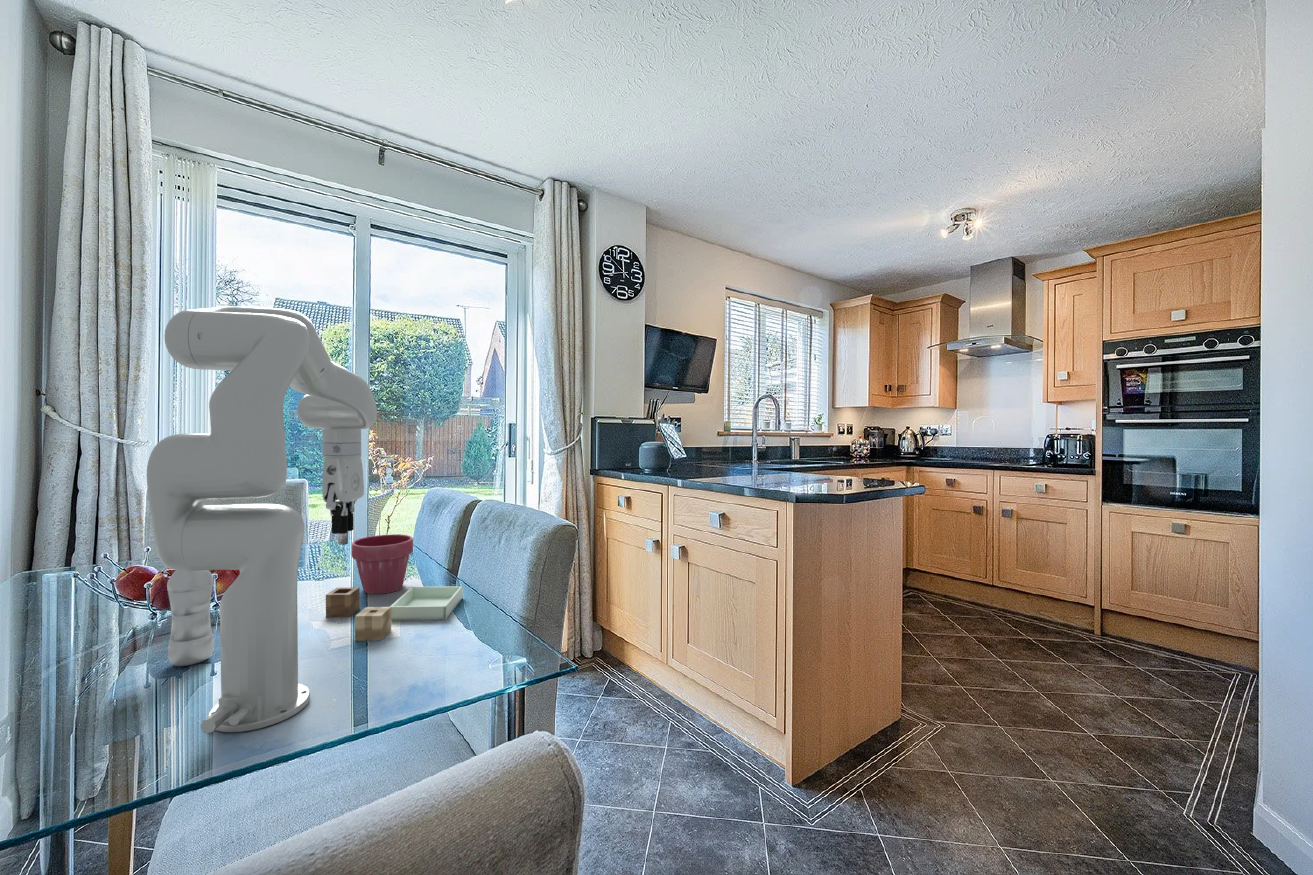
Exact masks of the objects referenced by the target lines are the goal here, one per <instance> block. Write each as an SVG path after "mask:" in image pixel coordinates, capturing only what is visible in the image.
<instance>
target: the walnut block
mask: <svg viewBox="0 0 1313 875" xmlns="http://www.w3.org/2000/svg"><path fill="white" fill-rule="evenodd" d="M360 599H361V598H360V587H336V588H334V589H332V590H330V592H328V593H326V594H325V618H350V617H351V616H352V615H354V614H355V613H356V612H358V611H359V610H360V601H361V600H360Z"/></svg>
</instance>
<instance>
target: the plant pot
mask: <svg viewBox="0 0 1313 875" xmlns="http://www.w3.org/2000/svg"><path fill="white" fill-rule="evenodd" d="M413 552H414V539H413V537H412V535H408V534H400V533H399V534H396V533H394V534H379V535H371V536H365V537H361V538H358V539H355V540H353V541H352V542H351V558H352V559H353V560H355V562H356V563H355V564H356V567H357V571H358V576H359V579H360V582H361V587H362V592H364V593H366V594H371V595H381V594H382V595H383V594H389V593H393V592H396V591H400V590H401V589H402V588H404V586H403V585H404V582H405V579H406V578H405V577H406V572H407V568H408V564H409V558H410V555H411V554H412V553H413Z"/></svg>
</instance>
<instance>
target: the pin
mask: <svg viewBox="0 0 1313 875" xmlns="http://www.w3.org/2000/svg"><path fill="white" fill-rule="evenodd" d="M346 515H348V508H346ZM348 532H349V531H348ZM348 532H347V533H346V534H337V545H339V546H340V545H341V546H342V545H343V546H344V545H348V543H349V533H348Z"/></svg>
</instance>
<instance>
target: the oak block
mask: <svg viewBox="0 0 1313 875" xmlns="http://www.w3.org/2000/svg"><path fill="white" fill-rule="evenodd" d="M354 621H355V622H354V624H355V625H354V634H355V636H354V637H355V638H354V639H355V640H354V641H358V642H359V641H382V640H383V639H384V638H385V637H386V636H387V635H388V634H390V632H391V631H392V620H391V607H390V606H365V607H364V608H363V609H361V611H359V612H358V613H357V614H356V615H355V617H354Z"/></svg>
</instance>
